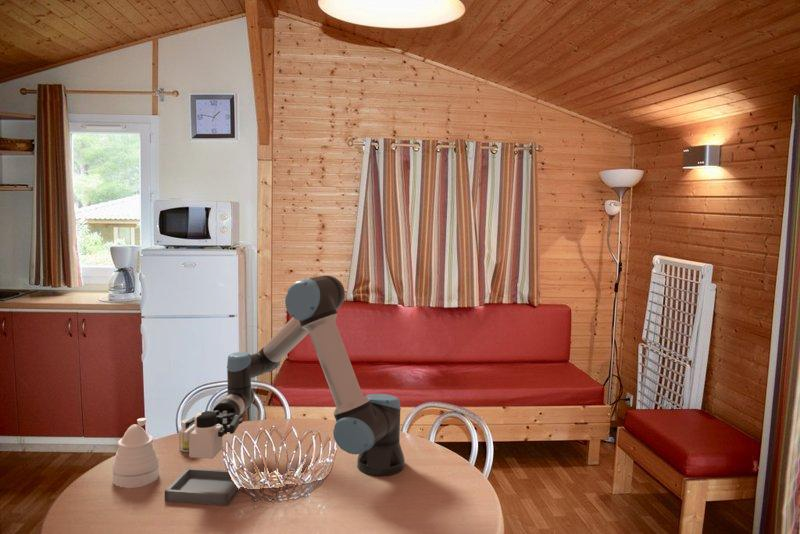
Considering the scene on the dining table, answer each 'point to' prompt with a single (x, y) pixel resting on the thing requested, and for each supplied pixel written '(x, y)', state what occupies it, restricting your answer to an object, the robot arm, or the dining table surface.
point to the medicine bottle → (204, 436)
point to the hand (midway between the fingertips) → (198, 437)
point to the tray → (202, 487)
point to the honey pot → (135, 458)
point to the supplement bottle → (183, 445)
